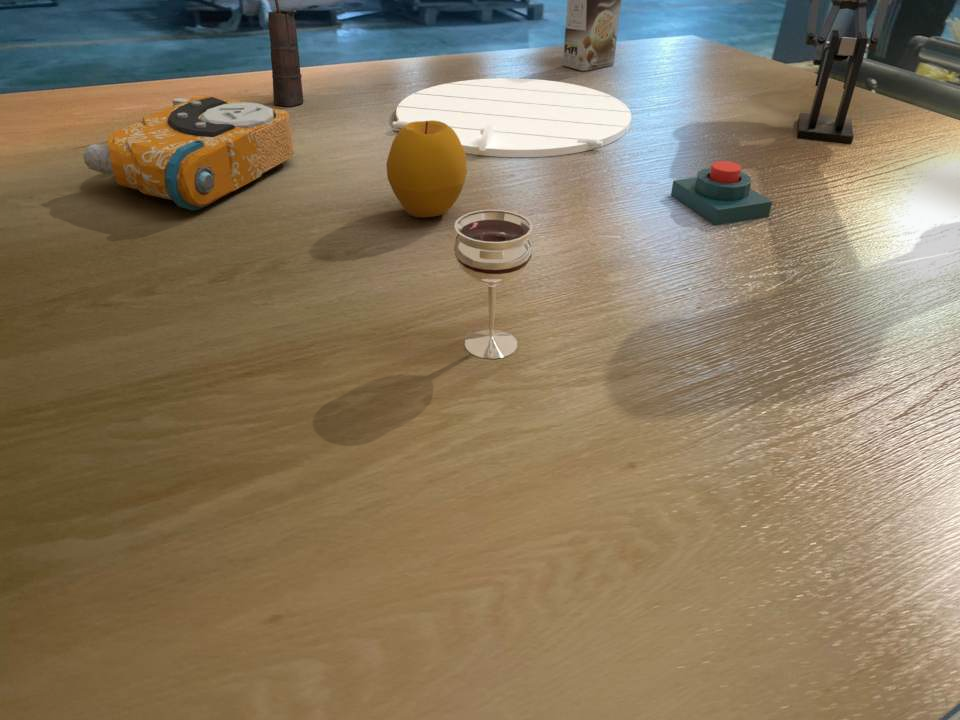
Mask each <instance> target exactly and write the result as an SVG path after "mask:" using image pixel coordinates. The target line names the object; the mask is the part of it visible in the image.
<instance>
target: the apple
mask: <svg viewBox="0 0 960 720" xmlns="http://www.w3.org/2000/svg"><path fill="white" fill-rule="evenodd" d="M389 149H390V150H389V153H388V155H387V159H386V174H387V175H386V176H387V177H386V178H387V180H388V182H389V185H390V187H391V190H392V192H393V194H394V196H395V197H396V199H397V200H398V202H399V203H400V205H401V206H402V208H403V209H404V210H405V212H407V213H408V214H409V215H411V216H413V217H415V218H433V217H439V216H442V215H444V214H445V213H446V212H448V211H449V210H450V209H451V208H452V207H453V206H454V204H455V203H456V201H457V200H458V199H459V197H460V195H461V193H462V191H463V189H464V188H463V187H464V185H465V181H466V177H467V174H468V168H467V167H468V166H467V156H466V153H465V151H464V149H463V147H462V145H461V142H460V140H459V138H458V136H457V135H456V133H455V132H454V130H453V129H452V128H451V127H449V126H448V125H446V124H445V123H442V122H440V121H433V120H431V121H417V122H411V123H409V124H407V125H406V126H404V127H403V128H402V129H401V128H400V130H398V132H397V134H396V136H395V137H394V139H393V140H392V143H391V145H390V148H389Z"/></svg>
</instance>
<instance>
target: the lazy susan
mask: <svg viewBox="0 0 960 720" xmlns="http://www.w3.org/2000/svg"><path fill="white" fill-rule="evenodd" d="M395 117H396V121H393V122H392V127H393V128H398V129H400V130H401V129H402V128H403V127H404V126H406V125H407V124H409V123H411V122H417V121H431V120H433V121H440V122H442V123H445V124H446V125H448V126H449V127H451V128H452V129H453V130H454V132H455V133H456V135H457V136H458V138H459V140H460V142H461V145H462V147H463V149H464V151H465V154H467V155H475V156H483V157H484V156H485V157H497V158H545V157H547V158H548V157H557V156H565V155H572V154H577V153H582V152H583V153H584V152H588V151H591V150H595V149H599V148H603V147H604V146H608V145H609V144H612V143H614V142H616V141H618V140H620V139H621V138H622V137H623V136H624V135H625V134H627V133H628V131H629V130H630V128H631V124H632V112H631V110H630V108H629V107H628V106H627V105H626V104H625V103H624V102H623V101H621V100H620V99H618V98H616V97H614V96H612V95H610V94H608V93H605V92H603V91H601V90H597V89H594V88H590V87H586V86H583V85H579V84H573V83H568V82H562V81H555V80H546V79H538V78H537V79H536V78H519V77H517V78H516V77H515V78H513V77H511V78H510V77H498V78H497V77H496V78H495V77H494V78H481V79H480V78H477V79H468V80H459V81H453V82H448V83H442V84H438V85H434V86H430V87H427V88H424V89H421V90H418V91H416V92H414V93H412V94H409V95H407V97H405V98H403V99H402V100H401V101H400V102H399V104H398V105H397V106H396V110H395Z"/></svg>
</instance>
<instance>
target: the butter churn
mask: <svg viewBox="0 0 960 720" xmlns="http://www.w3.org/2000/svg"><path fill="white" fill-rule="evenodd" d="M274 4H275V8H276V10H272V11H268V12H267V14H268V34H269V41H270V46H269V49H270V61H271V75H272V76H271V77H272V95H273V104H274V105H277V106H284V107H291V106H298V105H302V104H303V103H304V101H305V100H304V93H303V83H302V77H303V75H302V73H301V66H300V65H301V64H300V62H301V61H300V53H299V52H300V51H299V43H298V33H297V26H296V20H295V15H296V14H297V10H295V9H294V10H291V11H290V10H286V9H285V10H284V9H281V8H280V7H281V6H280V3H279V0H274Z"/></svg>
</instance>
